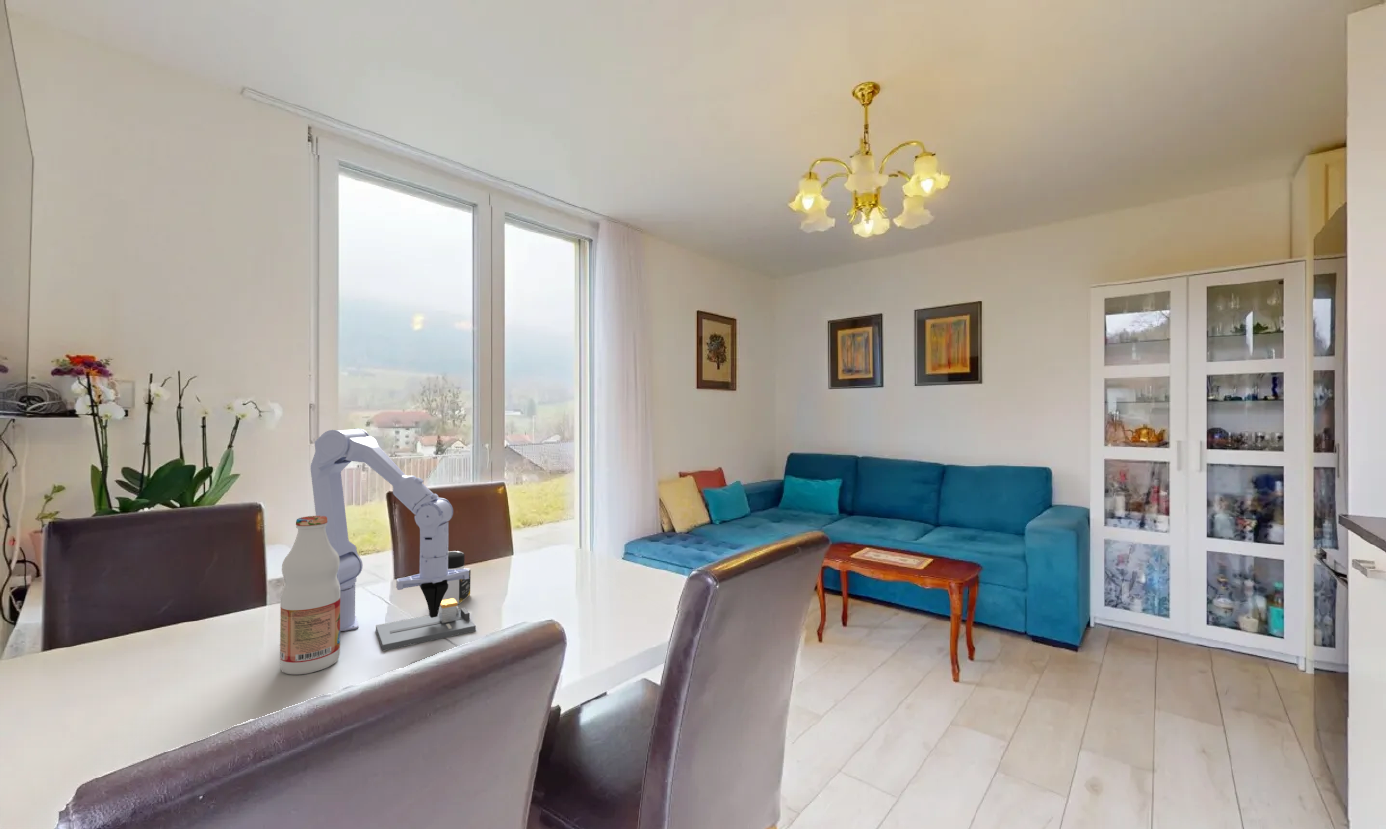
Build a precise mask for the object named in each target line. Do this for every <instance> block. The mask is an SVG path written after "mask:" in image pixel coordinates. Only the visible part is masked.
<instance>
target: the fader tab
mask: <svg viewBox="0 0 1386 829" xmlns="http://www.w3.org/2000/svg"><path fill="white" fill-rule="evenodd" d="M457 606H458V604H457V602H456V600H455V599H454V598H451V599H445V600H442V601H441V604H440V607H439V611H438V613H439V620H440V621H441V623H446V622H452V621H456V612H457Z"/></svg>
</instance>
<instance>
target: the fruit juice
mask: <svg viewBox="0 0 1386 829" xmlns="http://www.w3.org/2000/svg"><path fill="white" fill-rule="evenodd" d="M295 525H296V526H295V527H296V529H297V535H296V537H295V541H294V542H293V546H292V548H291V549H290V551H289V552H288V554H287V555H286V557H284V559H283V561H282V565H281V574H282V577H283V580H284V585H283V587H282V590H281V594H280V601H279V602H280V603H279V604H280V605H279V606H280V616H279V617H280V619H279V620H280V627H279V628H280V632H279V633H280V634H279V635H280V636H279V640H280V641H279V642H280V643H279V646H280V647H279V648H280V649H279V666H280V670H281V672H283V673H284V674H287V675H296V676H297V675H305V674H306V675H307V674H311V673H315V672H318V671H322V670H324V669H327V668H328V667H331V666H332V665H334V664H335V663H337V661H339V658H340V653H341V631H340V583H339V581H338V579H337V572H338V569H339V565H340V558H339V555H338V553H337V552H336V551H335V549H334V548H333V547H332V546H331V544H330V542H329V540H328V537H327V534H326V530H325V526H327V517H326V516H316V515H309V516H301V517H298V518H296V521H295Z"/></svg>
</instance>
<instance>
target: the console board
mask: <svg viewBox="0 0 1386 829" xmlns="http://www.w3.org/2000/svg"><path fill="white" fill-rule="evenodd" d="M470 617H471V615H470V611H469V610H468V609H467V607H461V608H459V605H457V612H456V621H452V622H446V623H441V621H440V620H439V612H438V616H437V617H433V618H431V617H430V615H429V614H428V615H424V616H418V617H417V616H416V617H412V618H406V619H402V620H396V621H391V622H385V623H380V624H376V625H375V632H376V635H377V638H378V641H379V644H380V647H381V649H382V651H388V650H392V649H397V648H401V647H408V646H410V645H411V646H413V645H416V644H420V643H425V642H426V643H427V642H430V641H435V640H440V639H444V638H450V637H453V636H458V635H459V636H460V635H464V634H468V633H473V632H476V631H477V630H476V629H477V626H476V624H475V622H474V621H473V620H472V619H471V618H470Z"/></svg>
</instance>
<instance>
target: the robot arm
mask: <svg viewBox="0 0 1386 829" xmlns="http://www.w3.org/2000/svg"><path fill="white" fill-rule="evenodd" d="M314 448H315V449H314V451H315V452H314V455H313V458H312V460H311V463H310V475H311V476H310V477H311V484H312V491H313V494H312V495H313V499H314V500H313V502H314V509H315V510H314V511H315V516H326V517H327V526H325V530H326V534H327V537H328V540H329V542H330V544H331V546H332V547H333V548H334V549H335V551H336V552H337V553H338V555H339V558H340V565H339V569H338V572H337V579H338V581H339V583H340V632H344V631H350V630H351V631H352V630H356V629H358V628H359V622H358V619H357V616H356V582H357V578H358V577H359V575H360V574H361V573H362V571H363V561H362V558H361V557H360V556H359V554H358V550H357V546H356V545H355V544H354V543H352V542H351V541H350V540H349V532H348V524H347V523H348V522H347V515H346V506H345V499H344V497H345V496H344V489H343V481H342V472H343V470H344V469H345V468H347V467H348V465H349V464H350V463H351V462H356V463H365V464H366V465H367V466H368V467H370V468H371V469H372V470H373V471H374V472H376V473H377V474H378V475H379V476H381V477H382V478H383V479H384V480H385V481H386V482H388V483H389V484H390V485H391V486H392V494H393V496H394V497H396V499H398V500H399V501H400V502H401V503H402V504H403V506H405V507H406V508H407V509H408V510H409V511H411V513H412V514H413V515H414V522H415V523H416V526H417V527H419V573H417V574H413V575H409V576H406V577H405V576H404V577H400V578H396V587H395V588H396V590H397V591H400V590H404V589H407V588H408V589H409V588H413V587H419V588H420V590H421V592H422V594H423V596H424V599H425V600H426V604H427V608H428V615H430V617H431V618H433V617H437V616H438V613H439V607H440V604H441V601H442V599H443V597H444V595H445V593H446V591H447V589H448V583H447V581H453V580H459V579H469V570H468V569H457V570H448V552H449V521H451V519H452V518H453V516H454V508H453V505H452V504H451V502H450V501H449V499H446V498H444V497H439V495H438V494H437V493H436V492H435V493H434V492H433V491H431V489H430V488H428V486H426V485H425V484H424V483H423V482H424V479H422V477H420V476H419V477H417V476H416V475H406V474H405V472H404V471H403V470H402V469H401V468H400V467H399V466H398V465H397V464H396V463H395V462H394V461H393V460H392V458H390V456H389V455H388V454H387V452H385V451H384V450H383V449H382V448H381V446H380V445H379V443H378V442H377V439H376V438H374V437H373V436H372V435H370V434H369V433H368V431H366V430H365V429H363V428H352V429H340V430H338V429H329V430H326V431H325V432H323V433H322V434H321V435H320V436H319V437H318V438H317V439H316V440H315V441H314Z"/></svg>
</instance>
